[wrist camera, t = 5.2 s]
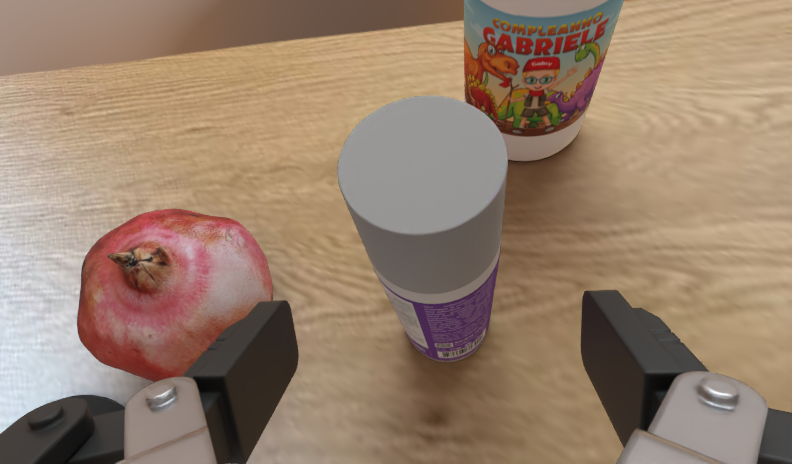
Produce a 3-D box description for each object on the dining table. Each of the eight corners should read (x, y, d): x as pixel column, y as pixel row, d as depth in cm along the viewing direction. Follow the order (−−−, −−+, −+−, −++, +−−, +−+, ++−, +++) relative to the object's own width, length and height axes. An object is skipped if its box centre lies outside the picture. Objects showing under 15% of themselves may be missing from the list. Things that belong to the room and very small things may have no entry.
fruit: (122, 312, 28) (-39, 245, 19) (246, 220, 30) (152, 120, 21) (182, 434, 24) (14, 419, 15) (321, 319, 26) (244, 246, 17)
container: (494, 288, 25) (523, 97, 12) (482, 371, 23) (500, 254, 10) (414, 274, 26) (359, 85, 13) (396, 352, 24) (309, 225, 11)
